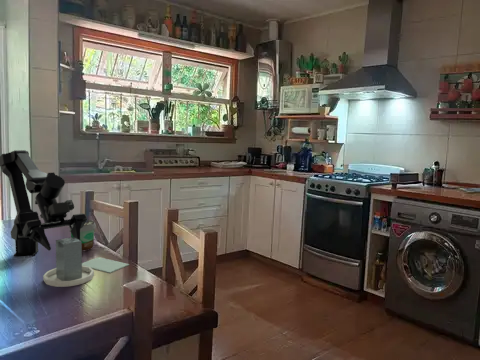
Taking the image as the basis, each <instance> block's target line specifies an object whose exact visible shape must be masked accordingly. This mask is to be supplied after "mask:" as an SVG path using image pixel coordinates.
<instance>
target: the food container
mask: <svg viewBox="0 0 480 360" xmlns="http://www.w3.org/2000/svg"><path fill="white" fill-rule="evenodd" d="M96 228H97V225H96V222H95V221H94V220H93V219H87V221H86V223H85V224H84V226H83V227H82V228H81V229H80V240H81V241H82V252H84V251H83V250H85V251H88V249H89V250H92V249H93V248H92V247H94V239H95V238H94V237H95V229H96ZM71 230H72V229H71V228H70V227H69V232H70V238H71V237H73V235H72V233H71ZM91 248H92V249H91Z"/></svg>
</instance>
